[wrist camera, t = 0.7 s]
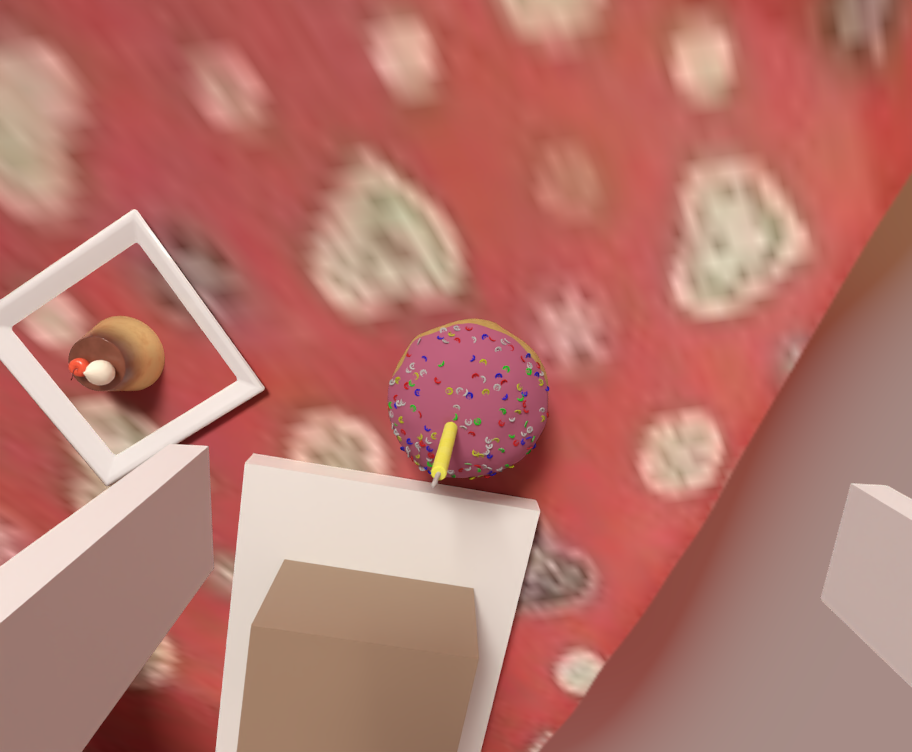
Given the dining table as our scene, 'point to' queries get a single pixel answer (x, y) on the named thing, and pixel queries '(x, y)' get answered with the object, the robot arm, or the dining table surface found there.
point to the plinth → (377, 546)
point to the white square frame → (116, 351)
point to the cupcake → (468, 400)
